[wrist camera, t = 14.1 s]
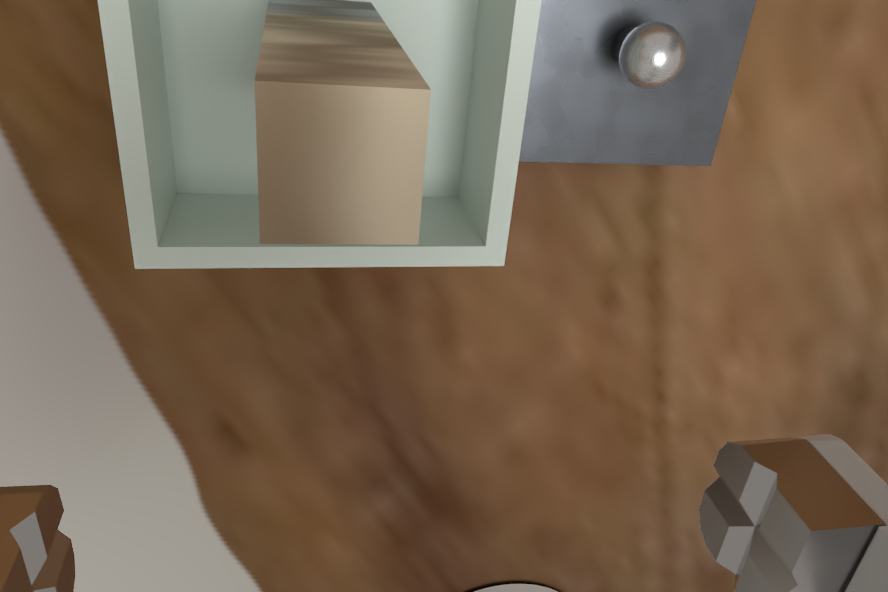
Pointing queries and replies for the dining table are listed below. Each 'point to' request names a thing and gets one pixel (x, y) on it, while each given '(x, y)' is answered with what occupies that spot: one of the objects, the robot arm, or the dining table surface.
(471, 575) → the dining table surface
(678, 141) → the stud plate
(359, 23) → the strut
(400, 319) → the dining table surface
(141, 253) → the bin
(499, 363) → the dining table surface
